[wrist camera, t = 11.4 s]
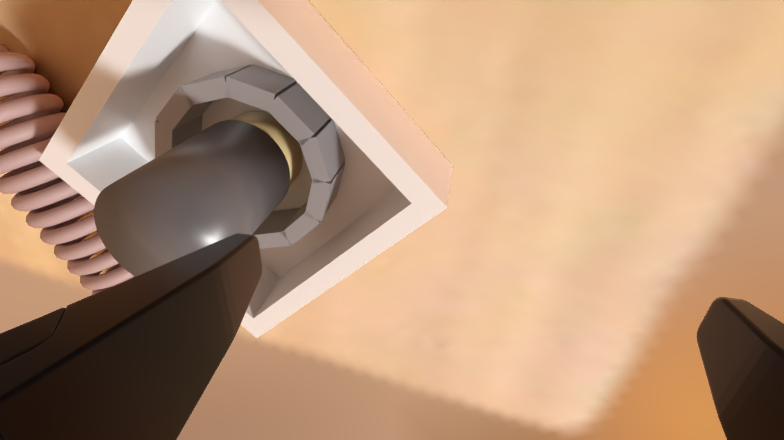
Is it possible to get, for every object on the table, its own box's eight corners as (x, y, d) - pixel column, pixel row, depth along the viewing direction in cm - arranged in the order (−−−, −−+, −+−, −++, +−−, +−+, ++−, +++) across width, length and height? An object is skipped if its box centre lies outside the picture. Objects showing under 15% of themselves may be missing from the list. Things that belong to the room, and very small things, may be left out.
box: (241, -75, 17) (181, -84, 14) (453, 166, 20) (447, 207, 17) (104, 130, 23) (38, 160, 20) (285, 289, 26) (256, 338, 23)
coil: (-126, 83, 19) (134, 367, 26) (-79, 44, 17) (186, 363, 24) (-16, 58, 23) (184, 313, 30) (33, 24, 21) (233, 306, 28)
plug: (256, 86, 19) (131, 152, 13) (324, 159, 21) (243, 255, 14) (204, 143, 22) (73, 226, 15) (269, 207, 23) (175, 310, 16)
